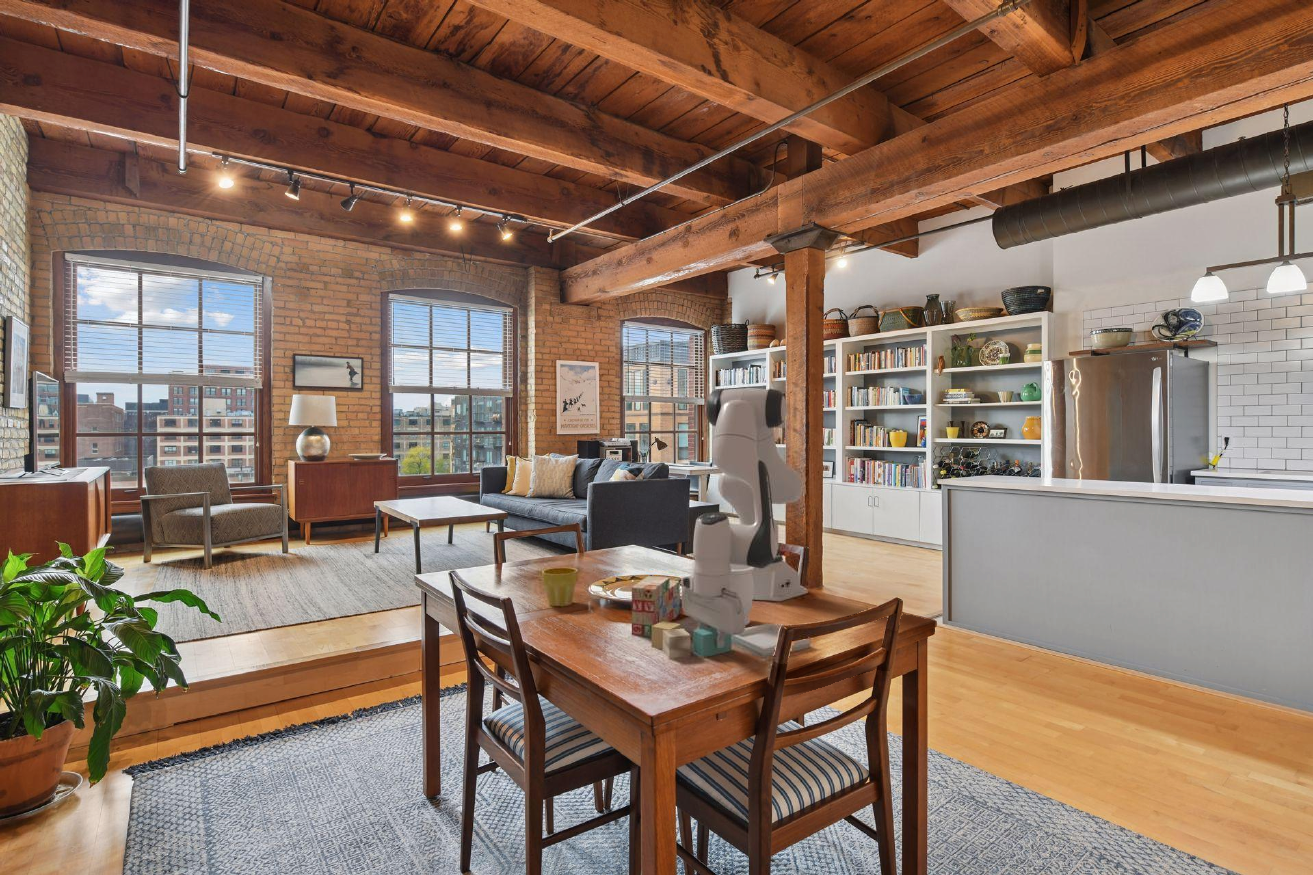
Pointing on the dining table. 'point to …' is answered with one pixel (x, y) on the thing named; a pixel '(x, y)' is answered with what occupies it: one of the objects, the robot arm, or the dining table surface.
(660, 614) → the stack of blocks
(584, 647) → the dining table surface
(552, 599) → the plant pot
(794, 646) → the tray
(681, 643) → the maple cube
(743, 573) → the jar
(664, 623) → the ochre cube
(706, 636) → the teal brick
